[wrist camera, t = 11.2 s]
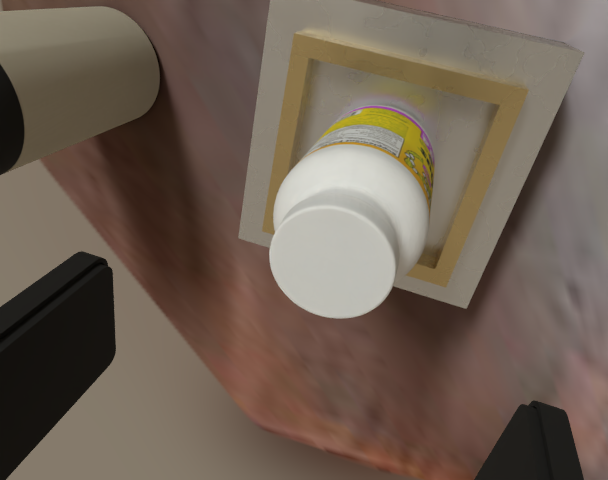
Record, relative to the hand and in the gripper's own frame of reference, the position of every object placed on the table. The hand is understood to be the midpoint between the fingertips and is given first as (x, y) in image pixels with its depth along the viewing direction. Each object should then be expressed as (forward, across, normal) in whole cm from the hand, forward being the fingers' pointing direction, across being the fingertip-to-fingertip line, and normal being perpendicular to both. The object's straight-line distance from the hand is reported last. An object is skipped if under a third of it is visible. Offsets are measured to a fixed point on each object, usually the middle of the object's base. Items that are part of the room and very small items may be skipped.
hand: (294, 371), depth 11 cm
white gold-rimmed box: (+24, 0, +2) cm, 25 cm away
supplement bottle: (+20, 0, +2) cm, 20 cm away
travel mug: (+25, +21, +2) cm, 33 cm away
